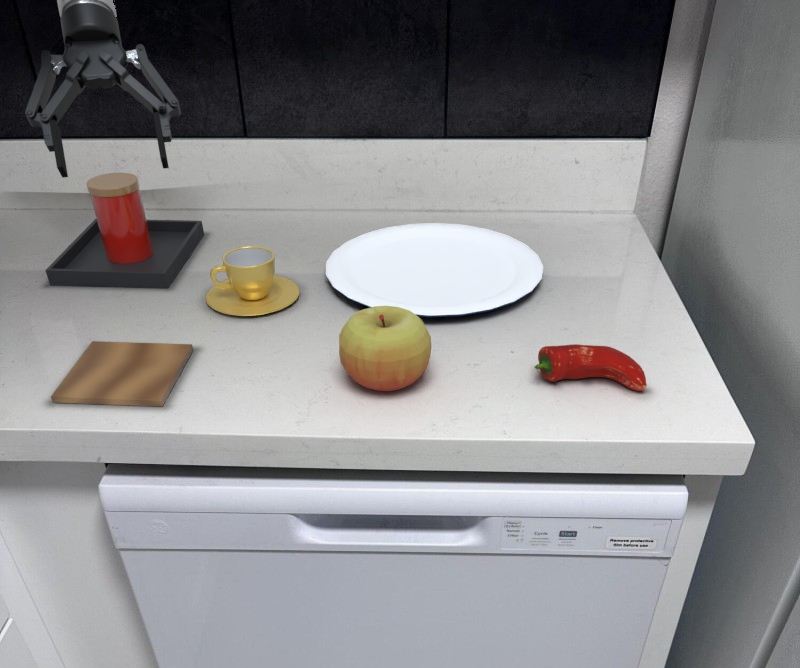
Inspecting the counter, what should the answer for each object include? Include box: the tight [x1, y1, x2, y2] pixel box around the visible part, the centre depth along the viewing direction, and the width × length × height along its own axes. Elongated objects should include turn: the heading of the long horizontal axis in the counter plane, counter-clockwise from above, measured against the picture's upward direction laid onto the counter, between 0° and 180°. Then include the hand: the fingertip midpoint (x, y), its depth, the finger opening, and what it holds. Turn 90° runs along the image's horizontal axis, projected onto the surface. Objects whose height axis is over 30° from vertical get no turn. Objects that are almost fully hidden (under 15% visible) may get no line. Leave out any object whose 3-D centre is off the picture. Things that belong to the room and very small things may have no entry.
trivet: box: [50, 340, 194, 408], centre depth 88 cm, size 12×12×1 cm
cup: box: [205, 245, 300, 317], centre depth 100 cm, size 12×12×5 cm
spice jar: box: [86, 172, 153, 264], centre depth 108 cm, size 7×7×10 cm
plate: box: [325, 222, 544, 318], centre depth 106 cm, size 29×29×2 cm
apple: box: [338, 306, 432, 392], centre depth 84 cm, size 10×10×8 cm
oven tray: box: [44, 218, 205, 289], centre depth 111 cm, size 16×18×2 cm
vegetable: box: [533, 344, 647, 392], centre depth 85 cm, size 4×5×12 cm
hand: (114, 168), depth 108 cm, fingers open, 13 cm apart
